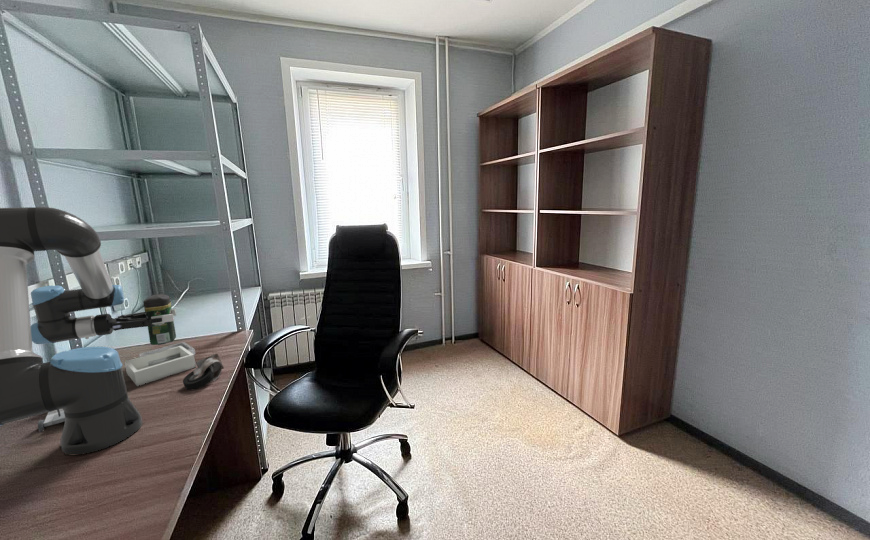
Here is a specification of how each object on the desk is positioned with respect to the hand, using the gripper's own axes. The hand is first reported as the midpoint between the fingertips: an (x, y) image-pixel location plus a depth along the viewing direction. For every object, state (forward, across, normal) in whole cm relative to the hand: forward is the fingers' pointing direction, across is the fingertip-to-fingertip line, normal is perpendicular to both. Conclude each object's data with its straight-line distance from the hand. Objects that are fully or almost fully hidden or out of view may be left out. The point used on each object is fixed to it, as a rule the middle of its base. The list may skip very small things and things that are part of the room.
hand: (174, 314), depth 135 cm
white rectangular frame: (-4, -2, -17) cm, 18 cm away
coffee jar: (-5, 0, -10) cm, 11 cm away
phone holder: (-23, +31, -19) cm, 43 cm away
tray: (-5, +12, -18) cm, 22 cm away
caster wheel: (+9, +31, -18) cm, 37 cm away
